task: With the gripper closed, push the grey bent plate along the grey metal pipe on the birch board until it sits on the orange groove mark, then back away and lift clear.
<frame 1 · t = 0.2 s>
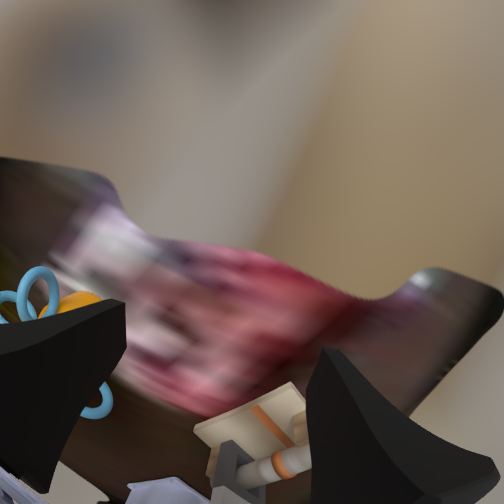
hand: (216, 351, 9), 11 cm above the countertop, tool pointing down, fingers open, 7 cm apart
grey bent plate: (241, 488, 16), point 6 cm above the countertop, slide at 0.0 cm
yellow blue ringed piece: (92, 321, 21), on the countertop
pipe rig: (267, 435, 21), on the countertop
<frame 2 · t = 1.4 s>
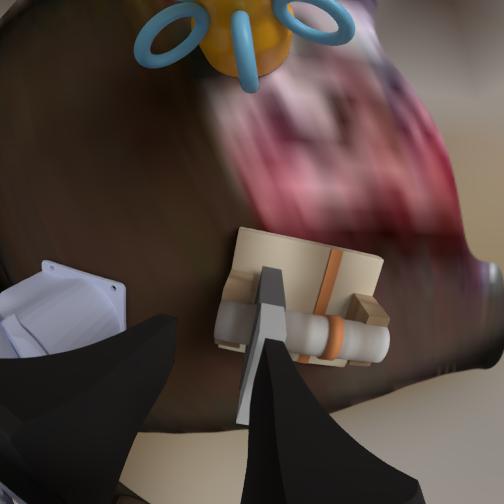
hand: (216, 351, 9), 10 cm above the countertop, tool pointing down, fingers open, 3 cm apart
grey bent plate: (261, 337, 14), point 6 cm above the countertop, slide at 0.0 cm
beer bottle: (137, 502, 33), on the countertop
yellow blue ringed piece: (248, 46, 16), on the countertop
pipe rig: (297, 301, 20), on the countertop
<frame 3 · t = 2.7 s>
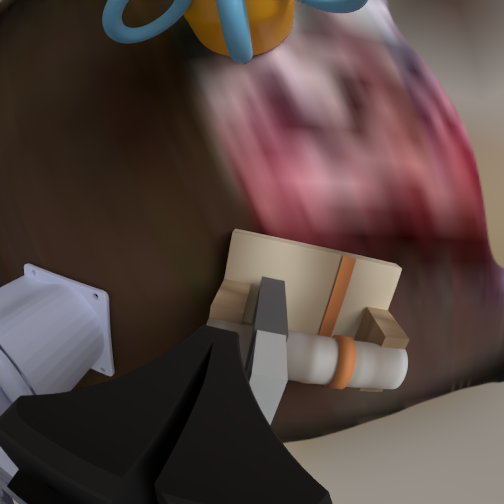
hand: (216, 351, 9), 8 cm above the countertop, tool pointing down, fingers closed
grey bent plate: (258, 365, 11), point 6 cm above the countertop, slide at 0.1 cm, touching gripper
yellow blue ringed piece: (244, 22, 13), on the countertop
pipe rig: (301, 315, 17), on the countertop
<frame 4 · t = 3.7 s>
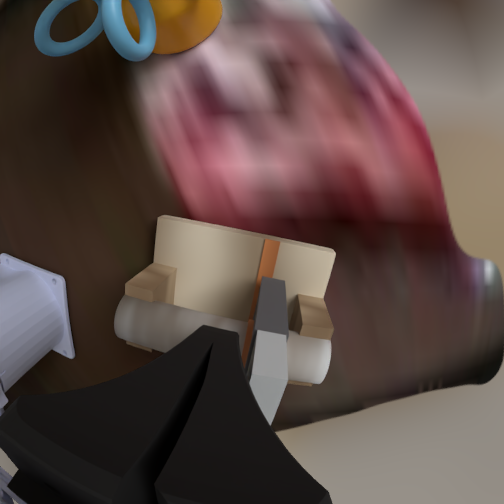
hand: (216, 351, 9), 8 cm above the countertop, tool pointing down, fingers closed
grey bent plate: (258, 365, 11), point 6 cm above the countertop, slide at 4.4 cm, touching gripper
yellow blue ringed piece: (179, 21, 13), on the countertop
pipe rig: (233, 302, 17), on the countertop
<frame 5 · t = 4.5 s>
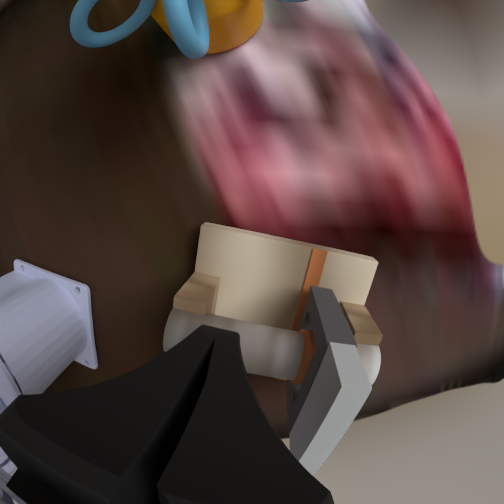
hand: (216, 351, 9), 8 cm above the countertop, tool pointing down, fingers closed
grey bent plate: (315, 374, 11), point 6 cm above the countertop, slide at 4.4 cm
yellow blue ringed piece: (217, 20, 13), on the countertop
pipe rig: (275, 310, 17), on the countertop
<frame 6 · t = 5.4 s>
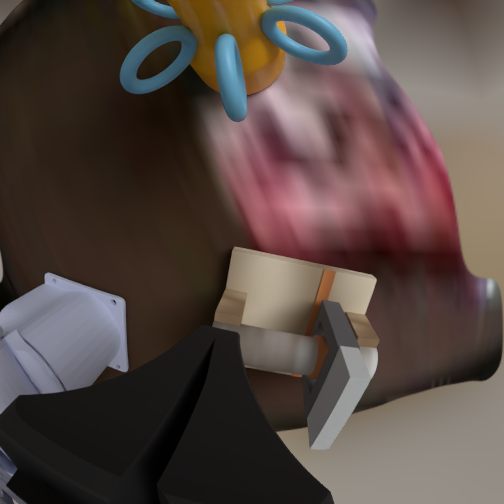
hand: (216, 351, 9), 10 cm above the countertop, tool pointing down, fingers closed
grey bent plate: (327, 370, 14), point 6 cm above the countertop, slide at 4.4 cm
yellow blue ringed piece: (242, 60, 16), on the countertop
pipe rig: (291, 318, 20), on the countertop
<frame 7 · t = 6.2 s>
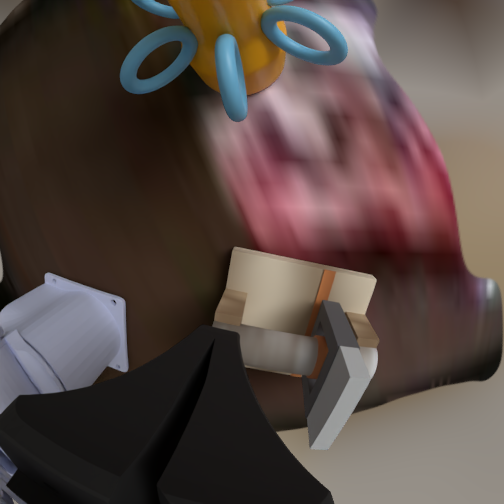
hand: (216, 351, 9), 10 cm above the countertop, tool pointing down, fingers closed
grey bent plate: (327, 370, 15), point 6 cm above the countertop, slide at 4.4 cm
yellow blue ringed piece: (242, 60, 16), on the countertop
pipe rig: (291, 318, 20), on the countertop
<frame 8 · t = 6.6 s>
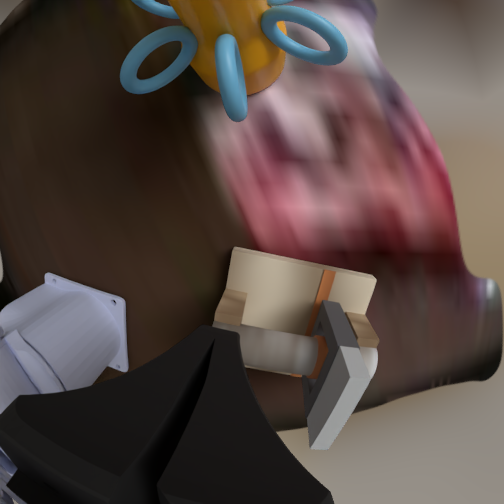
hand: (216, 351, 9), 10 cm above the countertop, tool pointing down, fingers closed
grey bent plate: (327, 370, 15), point 6 cm above the countertop, slide at 4.4 cm
yellow blue ringed piece: (242, 60, 16), on the countertop
pipe rig: (291, 318, 20), on the countertop
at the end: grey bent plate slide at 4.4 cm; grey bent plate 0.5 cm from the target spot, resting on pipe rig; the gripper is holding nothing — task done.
